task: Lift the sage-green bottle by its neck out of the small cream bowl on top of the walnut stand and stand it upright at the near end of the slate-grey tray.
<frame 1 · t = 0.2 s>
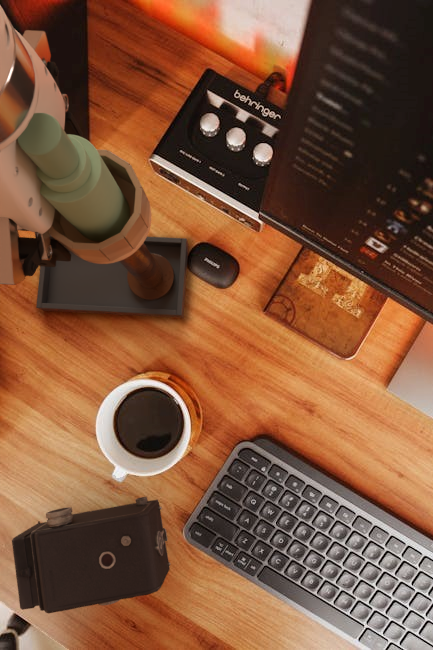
hand: (58, 197, 44), 24 cm above the table, tool pointing down, fingers open, 9 cm apart
tray: (115, 277, 68), on the table
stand: (151, 277, 67), resting on tray
camera: (110, 536, 65), on the table
bottle: (101, 214, 43), point 25 cm above the table, touching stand
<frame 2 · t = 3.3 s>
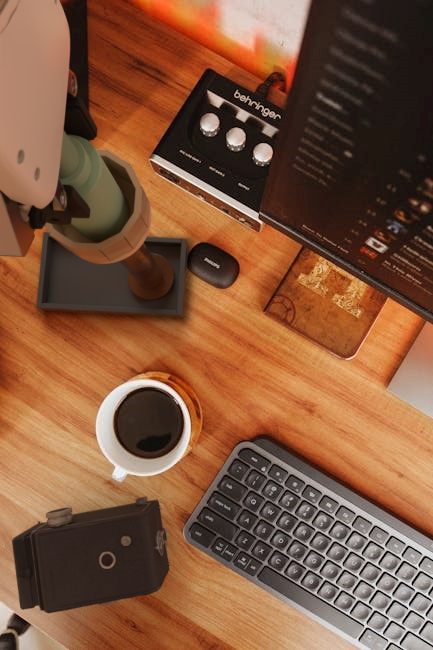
hand: (68, 172, 35), 33 cm above the table, tool pointing down, fingers closed on bottle, 4 cm apart
bottle: (101, 214, 43), point 25 cm above the table, touching gripper, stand
everything else where it was.
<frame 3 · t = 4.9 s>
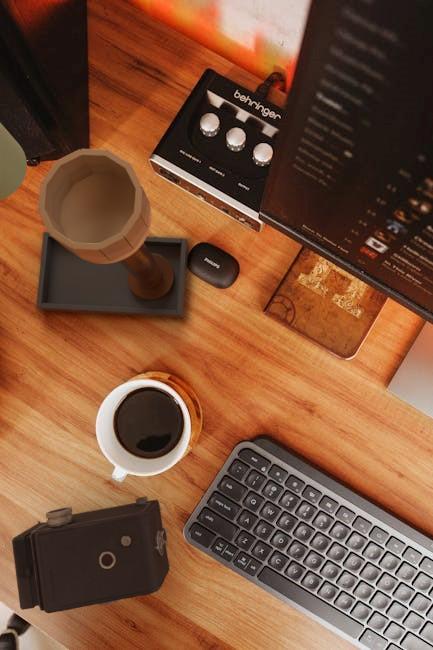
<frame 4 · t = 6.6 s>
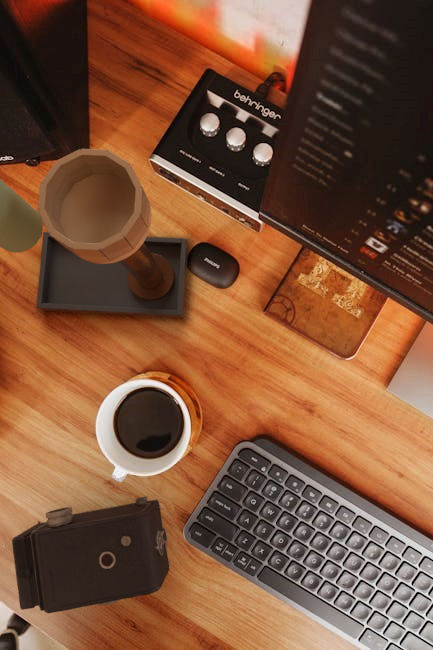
bottle: (18, 228, 49), point 20 cm above the table, touching gripper
everything else where it was.
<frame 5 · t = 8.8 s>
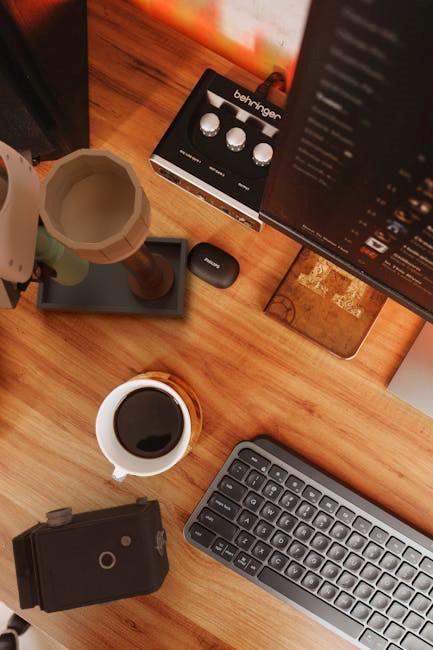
hand: (44, 248, 56), 13 cm above the table, tool pointing down, fingers closed on bottle, 4 cm apart
bottle: (70, 267, 64), point 4 cm above the table, touching gripper
everything else where it was.
when the fingers open (9 cm above the table, at t = 10.3 s): bottle stays where it is, resting on tray.
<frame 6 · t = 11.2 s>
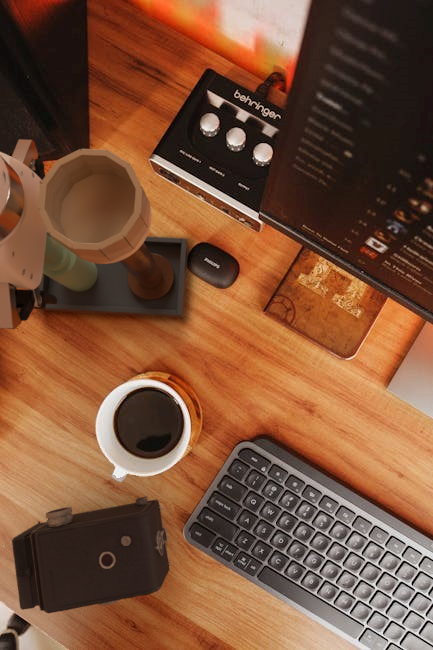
hand: (47, 254, 58), 11 cm above the table, tool pointing down, fingers open, 9 cm apart
bottle: (79, 274, 68), point 1 cm above the table, touching tray
everything else where it was.
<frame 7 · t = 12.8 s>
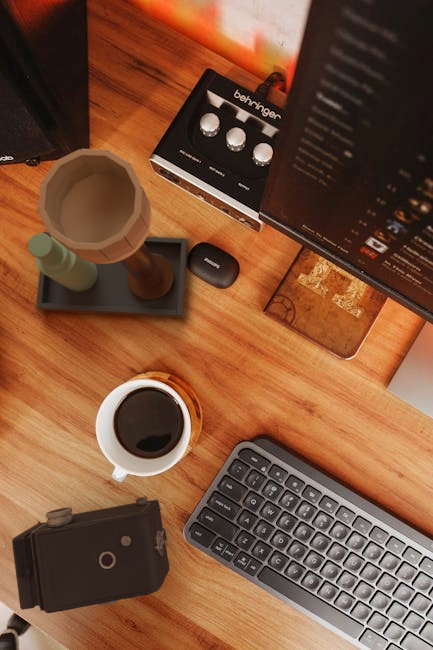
nothing on the table moved.
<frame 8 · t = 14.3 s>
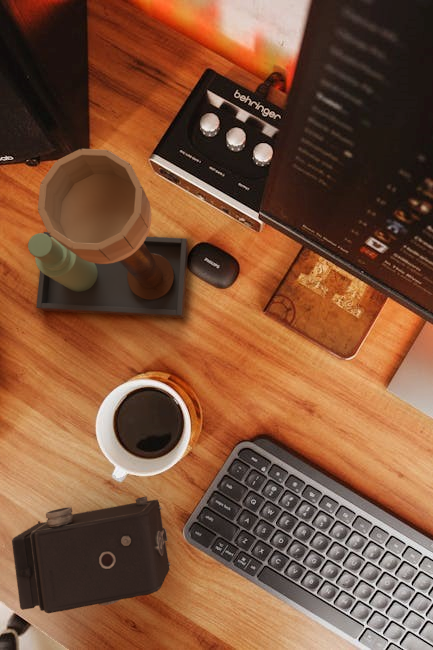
nothing on the table moved.
at the end: bottle 0.2 cm from the target spot in the tray, point 0.6 cm above the tray's base; bottle tilted 0°; the gripper is holding nothing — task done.
